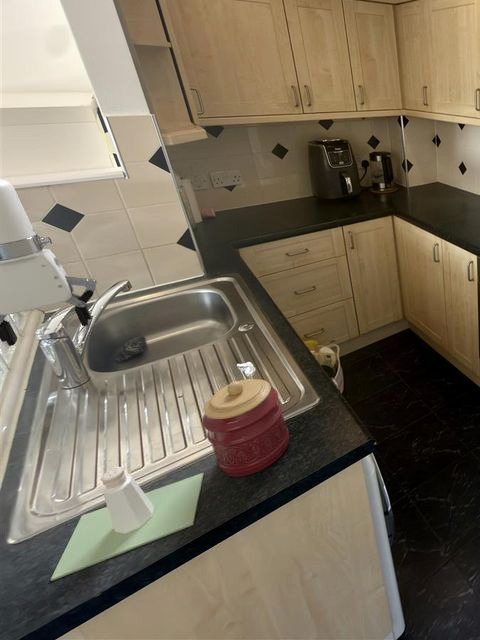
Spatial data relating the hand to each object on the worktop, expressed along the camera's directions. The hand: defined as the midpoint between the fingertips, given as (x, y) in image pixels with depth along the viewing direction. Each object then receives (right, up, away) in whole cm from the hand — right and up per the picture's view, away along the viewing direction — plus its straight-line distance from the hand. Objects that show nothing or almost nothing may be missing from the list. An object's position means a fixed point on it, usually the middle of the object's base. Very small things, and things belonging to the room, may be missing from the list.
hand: (51, 332), depth 78 cm
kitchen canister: (+35, -27, +7) cm, 45 cm away
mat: (+23, -32, -7) cm, 40 cm away
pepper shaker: (+23, -32, -7) cm, 40 cm away
